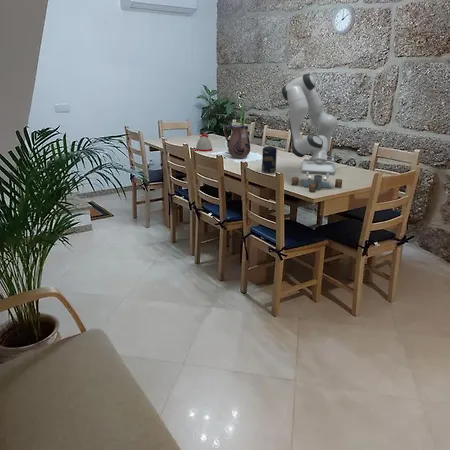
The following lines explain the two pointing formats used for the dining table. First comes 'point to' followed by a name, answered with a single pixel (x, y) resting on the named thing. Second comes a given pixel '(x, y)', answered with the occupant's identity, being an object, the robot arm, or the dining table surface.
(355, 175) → the dining table surface
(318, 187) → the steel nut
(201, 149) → the bell with red bow
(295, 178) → the spacer posts
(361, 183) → the dining table surface
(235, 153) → the ceramic pitcher
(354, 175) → the dining table surface
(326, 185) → the pad
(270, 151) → the canister
